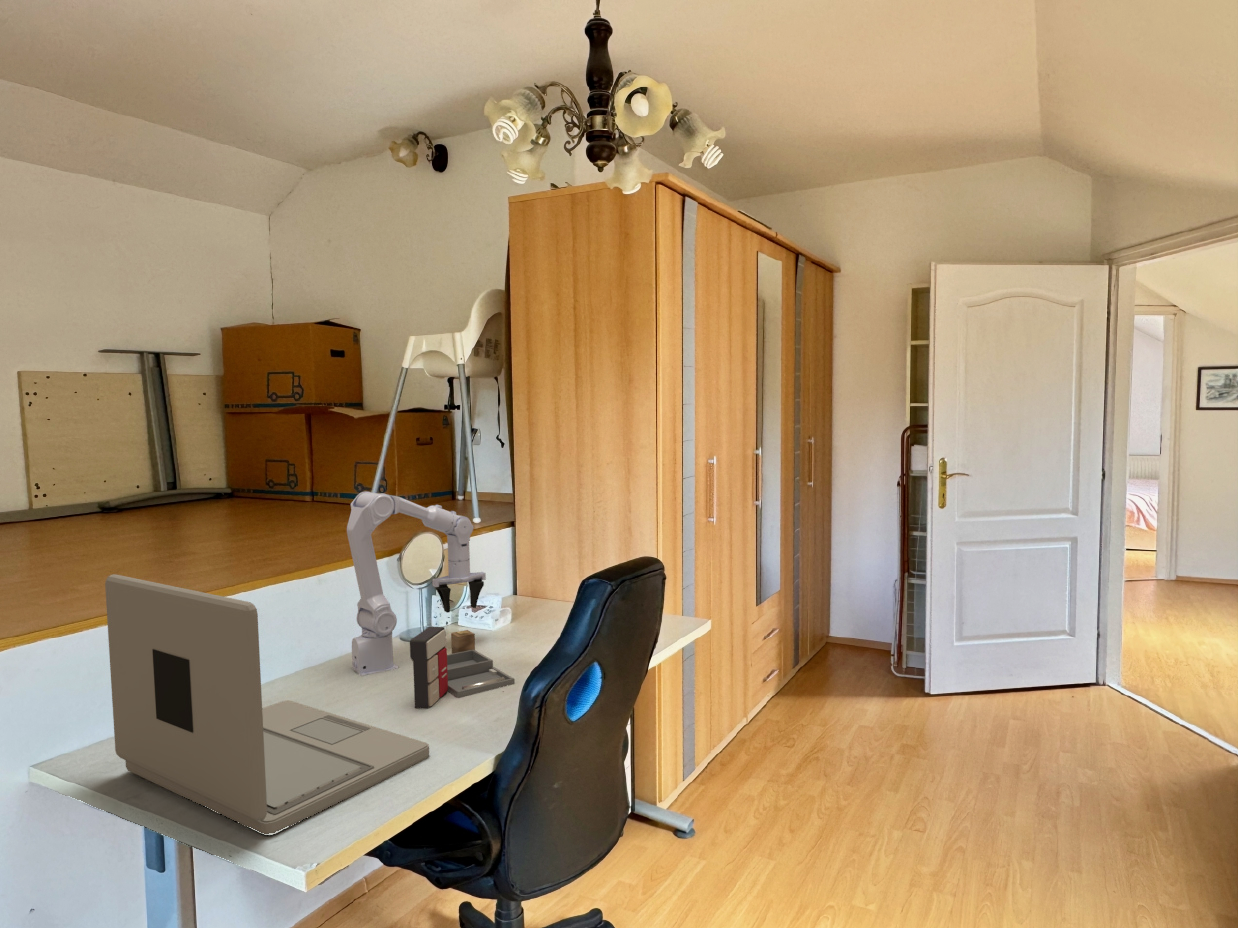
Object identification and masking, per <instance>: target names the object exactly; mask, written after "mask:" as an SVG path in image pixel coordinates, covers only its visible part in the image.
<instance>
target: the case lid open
mask: <svg viewBox="0 0 1238 928" xmlns="http://www.w3.org/2000/svg"><path fill="white" fill-rule="evenodd" d="M502 677H504V678H505V680H503V681H499V682H494V683H490V684H486V685H481V686H477V687H473V688H468V689H464V690H462V686H466V685H471V684H475V683H480V682H484V681H488V680H493V679H497V678H502ZM515 684H516V683H515V678H514V677H512V676H510V675H509V674H507V673H505V672H503V671H501V670H500V669H498V668H496V667H495V666H493V667H492V669H489V672H485V673H481V674H476V675H472V676H467V677H463V678H458V679H454V680H449V681H448V691H447V692H448V693H450V694H451V695H452V696H454V697H455V698H457V699H460V698H464V697H467V696H473V695H476V694H480V693H483V692H488V691H492V690H495V689H500V688H503V686H504V687H507V685H508V686H511V685H515ZM499 687H500V688H499Z"/></svg>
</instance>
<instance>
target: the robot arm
mask: <svg viewBox="0 0 1238 928" xmlns="http://www.w3.org/2000/svg"><path fill="white" fill-rule="evenodd" d="M350 509H351V510H350V515H349V518H348V522H347V525H346V535H347V540H348V544H349V548H350V549H349V550H350V553H351V558H352V563H353V568H354V571H355V576H356V582H357V586H358V591H359V592H358V593H359V596H360V599H359V601H358V602H357V603H356V606H357V614H356V623H357V625H358V626H359V627H360V629H361V635H359V636H357V637H354V638H352V640H351V658H352V659H351V660H352V661H351V662H352V665H351V670H354V671H355V672H356V673H357V674H358V675H359V676H367V675H373V674H377V673H382V672H387V671H391V670H392V671H394V670H396V669H397V670H398V669H399V668H400V667H399V666H398V665H397V664H395V663H394V650H393V649H394V648H393V647H394V645H393V631H394V630H395V628H396V626H397V622H398V618H397V614H395V612H394V611H393V610H392V608H391V604H390V602H389V600H388V598H386V596H385V594H384V590H383V586H382V581H381V576H380V571H379V568H378V562H377V557H376V553H375V548H374V542H373V538H372V533H373V532H374V531H375V530H376V528H377V527H378V526H379V525H381V524H382V523H383V522H385V521H386V520H387V519H388V518H390V517H391V515H396V514H399V513H400V514H403V515H406V516H410V517H413V518H416V519H419V520H421V523H423V525H424V527H426V528H430V529H432V530H435V531H438V532H440V533H444V534H445V535H446V539H447V564H448V565H447V566H448V570H447V571H448V575H445V576H441V577H436V578H432V587H434V588H435V590H436V591H437V593H438V595H439V598H440V600H441V603H442V607H443V610H444V613H450V611H451V602H450V600H451V599H450V597H451V590H452V589H451V588H450V587H449V586H450V585H457V584H462V583H467V584H468V588H469V595H470V597H469V598H470V601H469V603H470V607H471V608H472V609H476V608H477V603H478V600H479V597H480V593H481V591H482V589H483V587H484V586H485V580H486V579H487V577H486V576H487V575H486V572H484V571H480V572H479V571H478V572H471V560H470V559H471V558H470V556H471V555H470V553H471V552H470V541H471V535H472V533H473V531H474V525H473V524H472V522H471V520H470V518H469V517H467V516H463V515H460V514H458V515H457V512H456V511H454V510H450V511H449V510H446V509H444V508H443V506H442V505H439V504H435V505H429V506H428V507H425V506H422V505H420V504H418V503H415V502H412V501H410V500H408V499H405V498H403V497H400V496H397V495H390V494H388V493H387V494H386V493H384V492H383V493H379V492H377V493H376V492H372V491H368V490H367V491H361V492H360V493H358V494H357V495H356V496H355V498H354V499H353V501H352V502H351V503H350ZM448 585H449V586H448Z"/></svg>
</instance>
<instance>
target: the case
mask: <svg viewBox="0 0 1238 928" xmlns="http://www.w3.org/2000/svg"><path fill="white" fill-rule="evenodd" d="M448 654H449V653H448ZM448 654H447V671H448V681H449V680H454V679H458V678H463V677H467V676H472V675H476V674H481V673H485V672H489V669H492V667H494V661H493V659H491V658H489V657H488V656H486V655H484V654H483V653H481V652H479V651H477V650H476V649H475V650H469V651H464V652H459V653H454V654H452V653H450V654H449V655H448Z"/></svg>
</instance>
